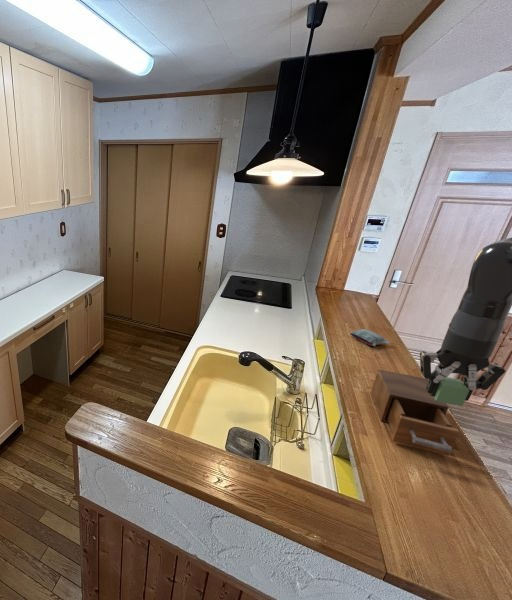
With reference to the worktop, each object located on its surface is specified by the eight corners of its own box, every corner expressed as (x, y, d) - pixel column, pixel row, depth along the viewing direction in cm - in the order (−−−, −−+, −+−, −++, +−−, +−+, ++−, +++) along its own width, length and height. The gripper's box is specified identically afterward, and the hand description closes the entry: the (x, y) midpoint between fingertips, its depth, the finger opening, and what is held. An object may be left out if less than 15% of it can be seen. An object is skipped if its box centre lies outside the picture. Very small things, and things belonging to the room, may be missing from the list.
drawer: (456, 470, 79) (468, 445, 76) (397, 453, 84) (406, 429, 81) (429, 422, 94) (438, 400, 91) (380, 411, 99) (388, 389, 96)
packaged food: (364, 335, 148) (366, 325, 146) (389, 347, 137) (392, 337, 135) (347, 337, 147) (350, 327, 145) (371, 349, 136) (374, 339, 134)
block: (453, 395, 77) (460, 379, 75) (462, 406, 73) (469, 390, 72) (428, 390, 79) (435, 374, 77) (436, 401, 75) (442, 384, 73)
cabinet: (436, 435, 90) (448, 407, 87) (380, 421, 96) (389, 394, 93) (419, 404, 103) (429, 379, 99) (370, 393, 108) (378, 369, 105)
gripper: (436, 332, 70) (411, 398, 76) (531, 346, 64) (496, 416, 70) (423, 320, 76) (401, 381, 82) (509, 331, 70) (478, 396, 76)
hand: (445, 396), depth 76 cm, fingers closed on block, 4 cm apart
